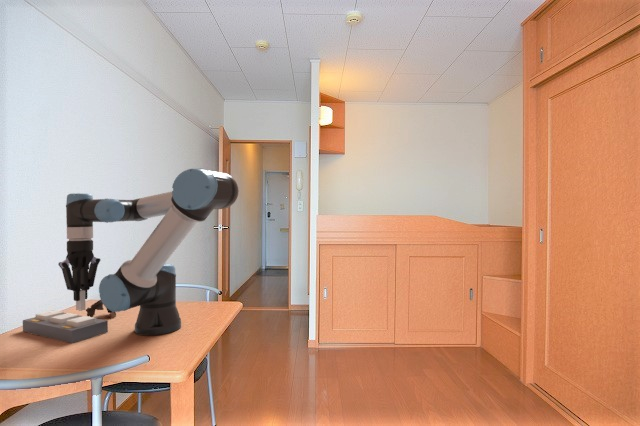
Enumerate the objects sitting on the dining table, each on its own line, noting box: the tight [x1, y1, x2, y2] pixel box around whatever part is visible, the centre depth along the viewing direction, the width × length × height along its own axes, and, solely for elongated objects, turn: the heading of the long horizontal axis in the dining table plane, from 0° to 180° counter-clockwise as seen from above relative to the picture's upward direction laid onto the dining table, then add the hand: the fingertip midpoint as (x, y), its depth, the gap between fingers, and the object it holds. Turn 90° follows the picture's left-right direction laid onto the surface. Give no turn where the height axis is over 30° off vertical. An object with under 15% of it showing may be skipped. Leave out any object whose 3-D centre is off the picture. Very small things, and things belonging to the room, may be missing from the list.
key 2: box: [66, 315, 96, 327], centre depth 128 cm, size 6×6×3 cm
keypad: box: [22, 312, 109, 344], centre depth 132 cm, size 28×12×4 cm, turn 64°
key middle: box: [50, 312, 80, 324], centre depth 132 cm, size 6×6×3 cm
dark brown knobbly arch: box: [85, 299, 117, 320], centre depth 150 cm, size 12×10×8 cm
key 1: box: [35, 310, 65, 321], centre depth 136 cm, size 6×6×3 cm
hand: (80, 309), depth 128 cm, fingers closed
